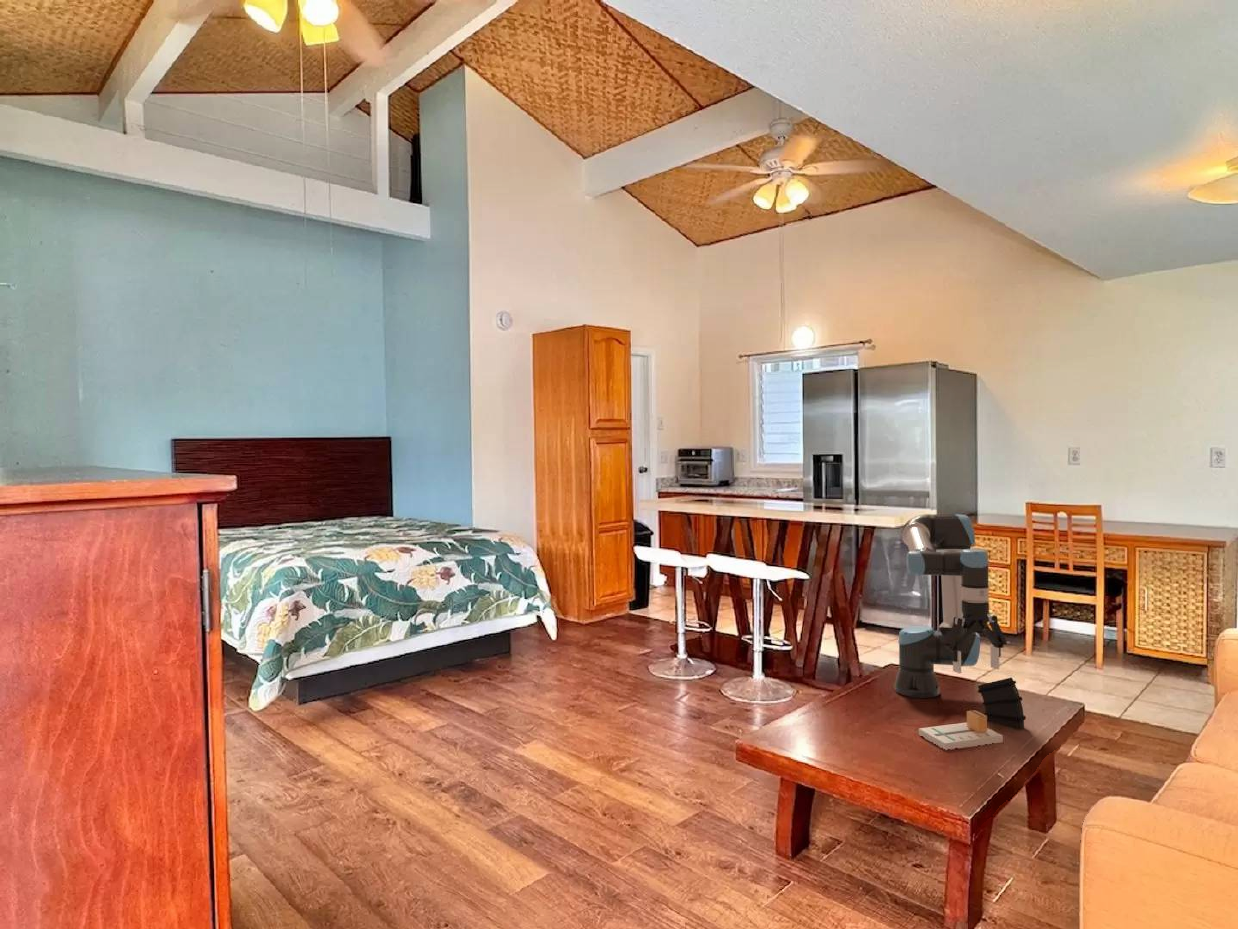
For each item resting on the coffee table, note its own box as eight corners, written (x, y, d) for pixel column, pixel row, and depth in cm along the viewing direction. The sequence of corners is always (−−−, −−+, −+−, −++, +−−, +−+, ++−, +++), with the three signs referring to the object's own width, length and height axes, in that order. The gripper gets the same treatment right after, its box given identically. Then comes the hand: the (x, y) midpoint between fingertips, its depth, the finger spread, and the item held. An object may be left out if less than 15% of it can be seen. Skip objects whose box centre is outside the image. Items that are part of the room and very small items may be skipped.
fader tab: (966, 726, 223) (966, 710, 223) (975, 725, 224) (974, 709, 224) (978, 733, 218) (978, 716, 218) (987, 731, 219) (987, 715, 219)
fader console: (918, 735, 223) (918, 728, 223) (974, 727, 228) (974, 721, 228) (945, 750, 212) (945, 743, 212) (1002, 742, 216) (1002, 735, 216)
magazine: (1030, 728, 223) (1008, 679, 228) (991, 735, 232) (970, 688, 237) (1036, 725, 225) (1013, 676, 230) (997, 732, 235) (976, 685, 240)
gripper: (948, 605, 214) (949, 677, 214) (1018, 600, 220) (1019, 669, 220) (931, 601, 221) (932, 670, 222) (1000, 595, 227) (1001, 663, 228)
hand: (976, 670), depth 221 cm, fingers open, 13 cm apart
